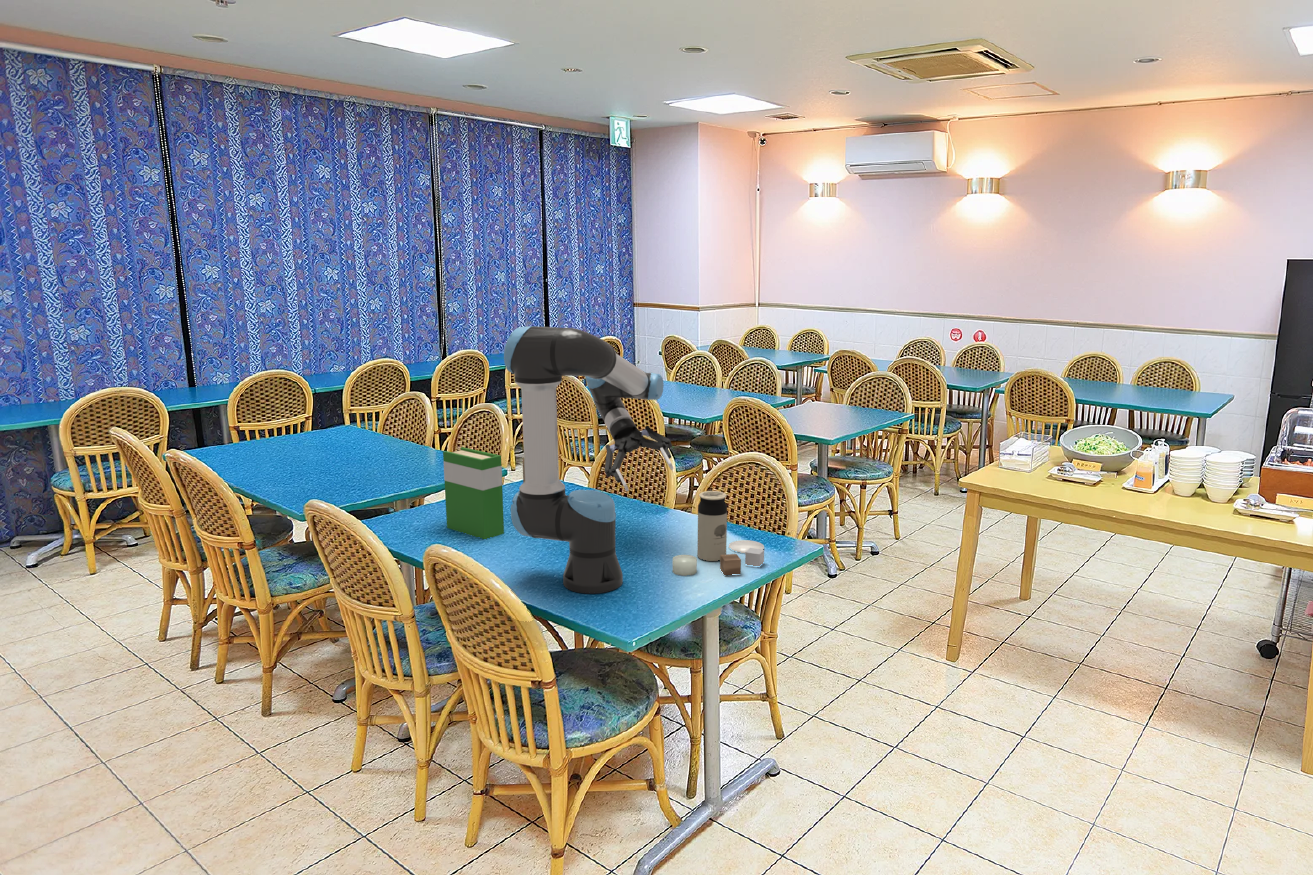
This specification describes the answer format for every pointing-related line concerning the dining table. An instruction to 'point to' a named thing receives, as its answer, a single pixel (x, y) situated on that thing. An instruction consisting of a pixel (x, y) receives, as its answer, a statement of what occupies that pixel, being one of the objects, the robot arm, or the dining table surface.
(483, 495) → the hardback book
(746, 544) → the saucer
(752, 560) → the grey cube
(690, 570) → the beige rounded cylinder
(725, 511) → the travel mug
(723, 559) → the walnut block
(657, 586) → the dining table surface
